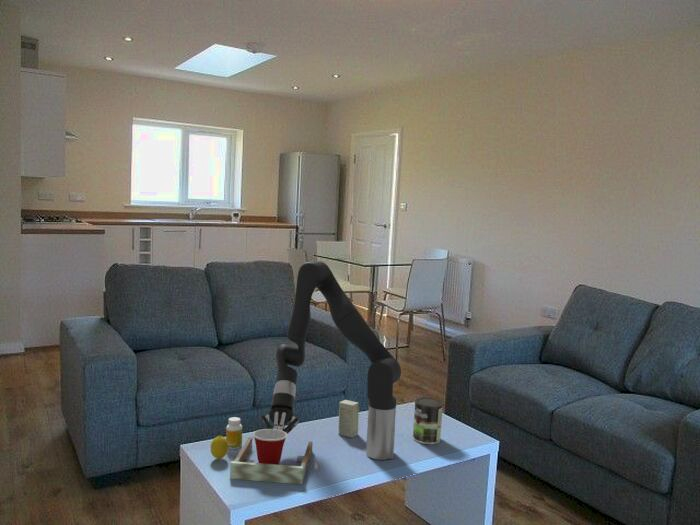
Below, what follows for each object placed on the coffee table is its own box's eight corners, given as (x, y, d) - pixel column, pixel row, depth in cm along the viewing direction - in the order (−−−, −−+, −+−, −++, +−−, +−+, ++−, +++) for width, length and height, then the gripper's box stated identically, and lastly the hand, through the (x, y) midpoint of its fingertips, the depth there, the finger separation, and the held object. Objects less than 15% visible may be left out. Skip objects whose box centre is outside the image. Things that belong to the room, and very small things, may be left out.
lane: (312, 451, 206) (312, 437, 205) (301, 484, 182) (302, 468, 181) (248, 446, 207) (248, 432, 206) (229, 478, 183) (230, 462, 182)
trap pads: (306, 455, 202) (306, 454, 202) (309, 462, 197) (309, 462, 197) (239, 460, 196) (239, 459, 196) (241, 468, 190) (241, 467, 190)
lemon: (212, 464, 192) (213, 440, 191) (208, 457, 197) (209, 433, 196) (229, 461, 195) (230, 437, 194) (225, 454, 200) (225, 431, 199)
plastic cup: (291, 465, 194) (292, 429, 193) (278, 479, 184) (279, 441, 183) (260, 460, 197) (261, 424, 196) (245, 473, 187) (247, 436, 185)
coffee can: (426, 446, 214) (428, 408, 213) (406, 437, 223) (409, 399, 221) (446, 441, 221) (449, 403, 219) (427, 431, 229) (429, 395, 227)
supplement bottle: (238, 450, 204) (239, 422, 203) (223, 448, 205) (224, 420, 204) (244, 444, 209) (245, 417, 208) (229, 442, 210) (230, 415, 209)
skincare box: (358, 434, 222) (360, 402, 221) (352, 438, 219) (353, 405, 218) (343, 430, 226) (345, 398, 225) (337, 434, 222) (338, 401, 221)
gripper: (263, 390, 206) (254, 438, 195) (302, 392, 205) (295, 441, 194) (266, 400, 212) (257, 448, 201) (303, 402, 211) (297, 450, 200)
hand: (276, 444), depth 198 cm, fingers closed
